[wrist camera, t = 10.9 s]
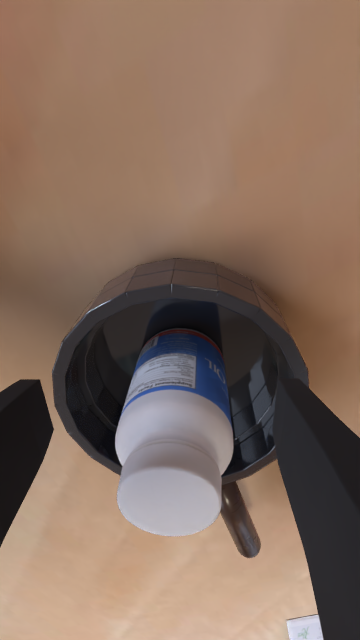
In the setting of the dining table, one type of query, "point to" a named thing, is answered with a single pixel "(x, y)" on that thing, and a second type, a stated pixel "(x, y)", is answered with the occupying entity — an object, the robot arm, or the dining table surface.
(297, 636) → the syrup box
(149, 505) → the pill bottle
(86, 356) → the black shallow round container
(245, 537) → the handle
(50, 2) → the dining table surface
